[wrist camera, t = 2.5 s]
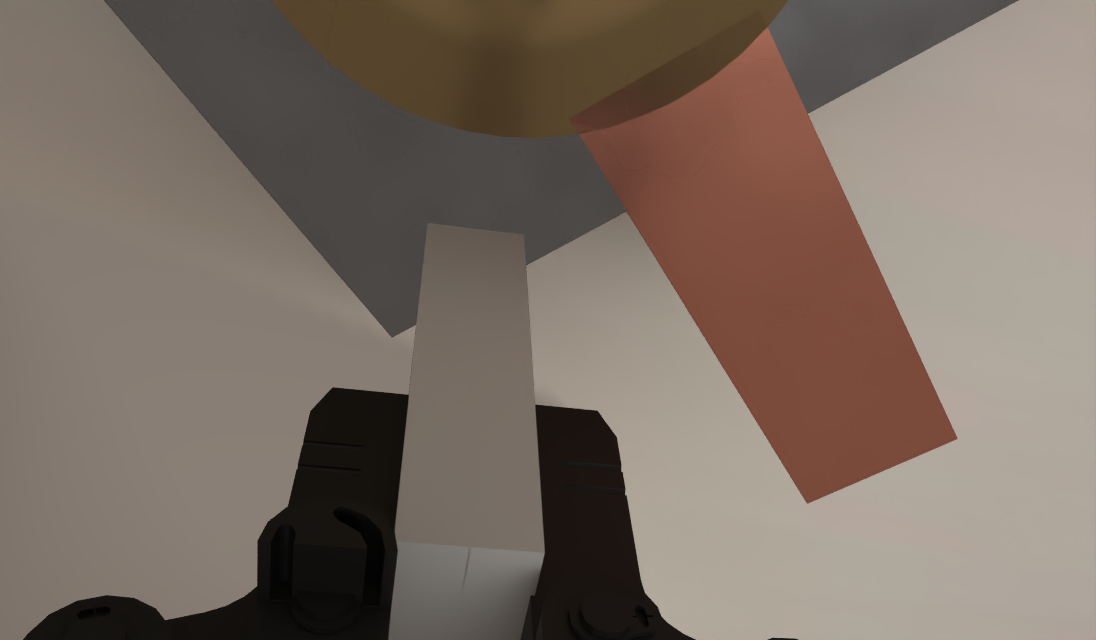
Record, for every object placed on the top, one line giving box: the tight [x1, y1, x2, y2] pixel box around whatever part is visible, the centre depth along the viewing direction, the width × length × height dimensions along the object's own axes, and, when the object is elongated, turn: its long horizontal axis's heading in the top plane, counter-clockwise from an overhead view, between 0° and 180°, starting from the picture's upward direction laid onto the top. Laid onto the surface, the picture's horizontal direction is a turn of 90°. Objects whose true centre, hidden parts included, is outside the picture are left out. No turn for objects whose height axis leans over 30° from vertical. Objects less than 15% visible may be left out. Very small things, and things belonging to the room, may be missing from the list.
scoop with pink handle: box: [272, 0, 957, 504], centre depth 13 cm, size 14×7×3 cm, turn 31°
